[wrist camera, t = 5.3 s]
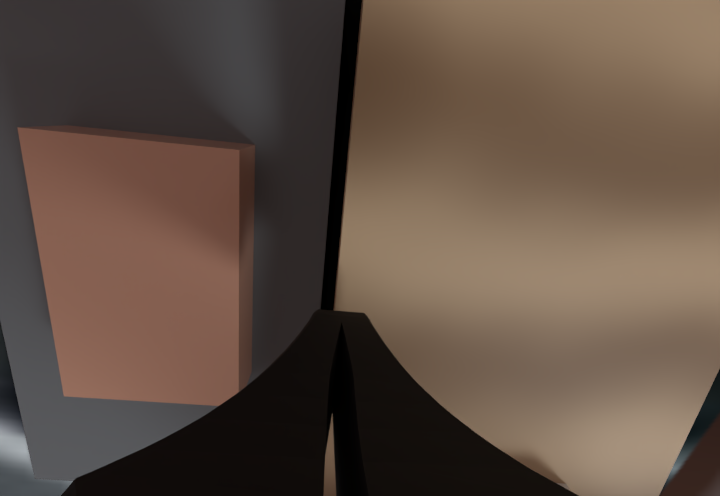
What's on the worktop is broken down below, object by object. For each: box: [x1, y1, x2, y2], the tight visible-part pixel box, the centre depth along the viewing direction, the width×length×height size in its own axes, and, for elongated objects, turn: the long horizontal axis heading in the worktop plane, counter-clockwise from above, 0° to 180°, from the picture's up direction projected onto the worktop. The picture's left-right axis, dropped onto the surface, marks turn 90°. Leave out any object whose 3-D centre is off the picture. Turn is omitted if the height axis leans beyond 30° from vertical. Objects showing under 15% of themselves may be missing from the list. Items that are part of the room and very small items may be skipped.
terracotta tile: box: [17, 125, 255, 406], centre depth 13 cm, size 9×6×2 cm, turn 174°
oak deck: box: [323, 0, 720, 496], centre depth 14 cm, size 20×12×4 cm, turn 174°
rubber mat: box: [0, 0, 346, 481], centre depth 15 cm, size 20×12×1 cm, turn 174°
